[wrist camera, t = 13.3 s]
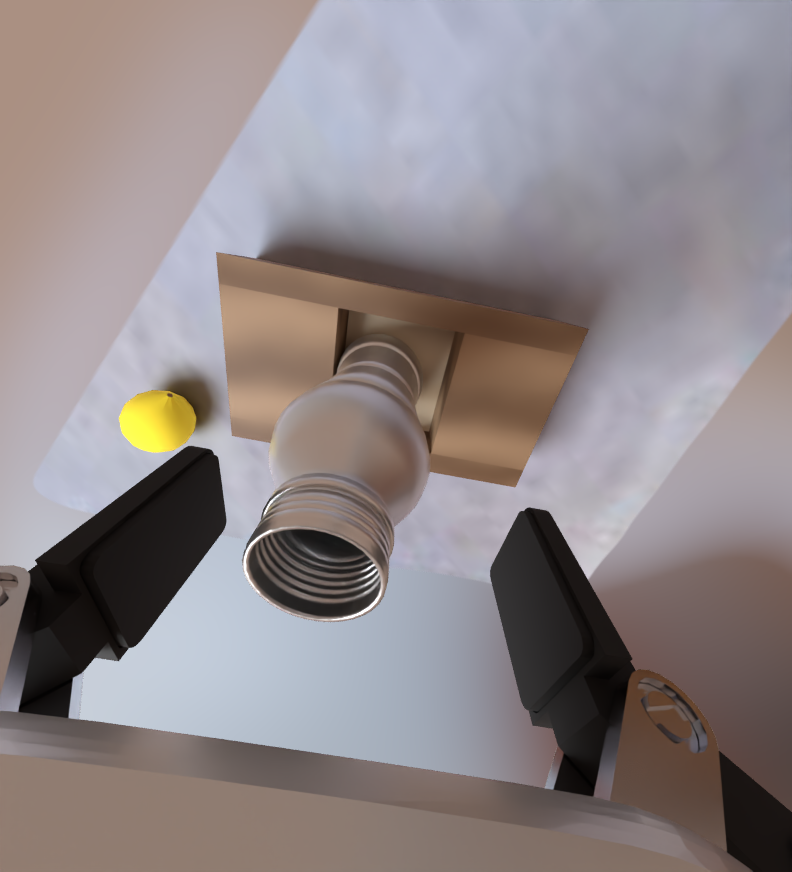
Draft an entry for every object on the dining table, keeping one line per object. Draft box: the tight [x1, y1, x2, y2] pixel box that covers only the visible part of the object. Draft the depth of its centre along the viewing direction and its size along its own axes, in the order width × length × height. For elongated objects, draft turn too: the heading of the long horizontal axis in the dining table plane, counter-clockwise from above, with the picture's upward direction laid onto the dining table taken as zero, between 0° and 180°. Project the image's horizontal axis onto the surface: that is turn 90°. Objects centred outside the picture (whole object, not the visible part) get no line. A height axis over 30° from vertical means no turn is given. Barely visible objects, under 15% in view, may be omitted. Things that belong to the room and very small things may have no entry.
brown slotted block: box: [216, 252, 589, 487], centre depth 24 cm, size 13×24×5 cm, turn 80°
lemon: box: [119, 390, 196, 452], centre depth 27 cm, size 7×5×5 cm
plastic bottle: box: [242, 334, 430, 622], centre depth 16 cm, size 6×7×20 cm
